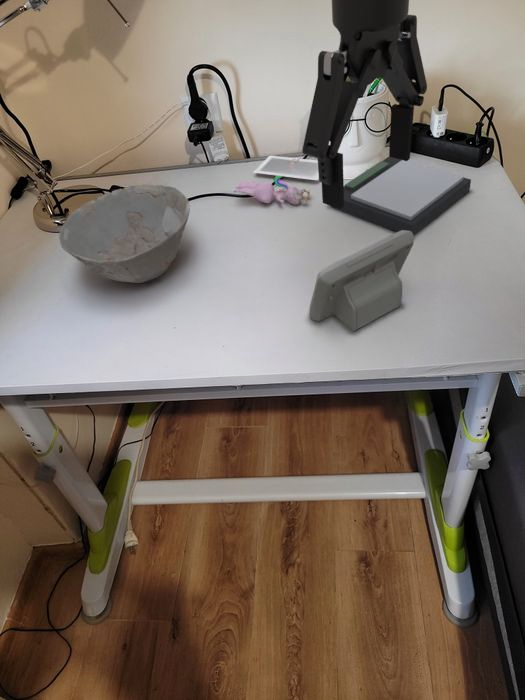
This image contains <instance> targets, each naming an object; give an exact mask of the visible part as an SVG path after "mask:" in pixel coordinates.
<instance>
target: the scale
mask: <svg viewBox="0 0 525 700" xmlns="http://www.w3.org/2000/svg"><path fill="white" fill-rule="evenodd" d="M471 183H472V179H470V178H467V177H464V175H461V174H457V173H453V172H450V171H447V170H444V169H439V168H437V167H434V166H430V165H425V164H422V163H419V162H415V161H411V160H408V161H404V160H400V159H396V158H393V157H389V156H388V157H386V158H384V159H383V160H380V161H379V162H377V163H376V164H374V165H372V166H371V167H369V168H368V169H366V170H365V171H364V172H362V173H360V174H358V175H357V176H356V177H354V178H353V179H351V180H350V181H348V182H347V183H344V207H343V208H341V209H338V208H335V207H332V206H330V207H331V208H333V209H336V210H338V211H340V212H343V213H346V214H348V215H351V216H354V217H357V218H358V219H361V220H363V221H367V222H370V223H372V224H374V225H377V226H380V227H382V228H385V229H386V230H390V231H392V232H395V233H397V232H399V231H401V230H406V231H411V232H412V233H413V235H414V236H415V235H417V234H418V233H419V232H420V231H422V230H423V229H424V228H426V227H427V226H428V225H429V224H430V223H433V221H434V220H436V219H437V218H438V217H439V216H440V215H442V214H443V213H445V212H446V211H447V210H448V209H449V208H451V207H452V206H453V205H454V204H456V203H458V202H459V201H460V200H461V199H463V197H465V196H466V195H467V194H468V193H470V189H471Z"/></svg>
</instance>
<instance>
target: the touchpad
mask: <svg viewBox="0 0 525 700" xmlns="http://www.w3.org/2000/svg"><path fill="white" fill-rule="evenodd" d="M318 171H319V170H318V159H317V160H316V159H307V158H296V157H289V156H278V155H269V156H267V158H266V159H265V160H263V161H262V163H260V165H259V166H258V167H257V168H256V169H255V170H254V171H253V172H252V173H253V174H254V173H255V174H261V175H269V176H282V177H287V178H294V179H302V180H311V181H319V173H318Z"/></svg>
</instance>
